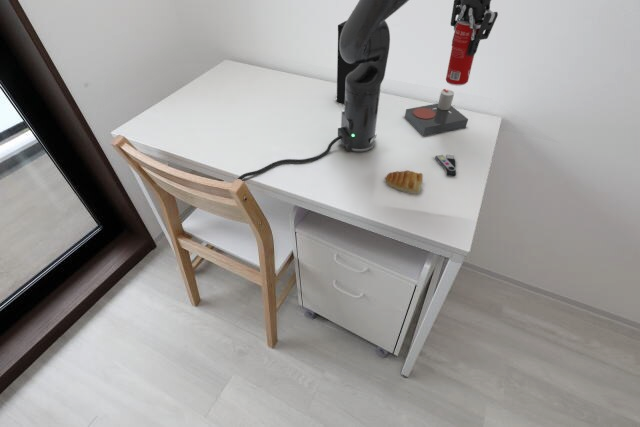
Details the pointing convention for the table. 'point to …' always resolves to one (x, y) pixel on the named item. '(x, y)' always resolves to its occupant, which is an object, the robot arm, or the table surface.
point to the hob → (437, 120)
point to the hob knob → (445, 99)
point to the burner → (424, 113)
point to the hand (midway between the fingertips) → (462, 50)
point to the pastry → (405, 181)
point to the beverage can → (460, 55)
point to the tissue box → (342, 70)
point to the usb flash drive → (447, 164)
